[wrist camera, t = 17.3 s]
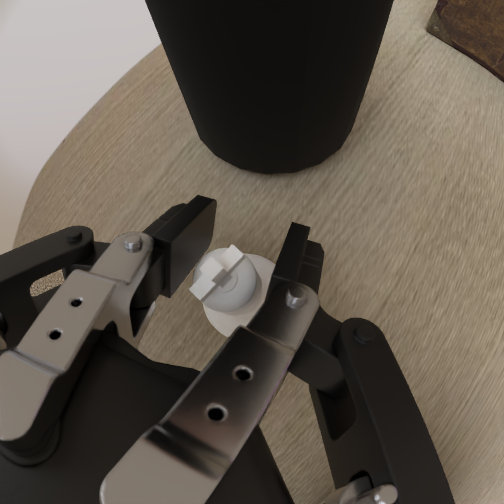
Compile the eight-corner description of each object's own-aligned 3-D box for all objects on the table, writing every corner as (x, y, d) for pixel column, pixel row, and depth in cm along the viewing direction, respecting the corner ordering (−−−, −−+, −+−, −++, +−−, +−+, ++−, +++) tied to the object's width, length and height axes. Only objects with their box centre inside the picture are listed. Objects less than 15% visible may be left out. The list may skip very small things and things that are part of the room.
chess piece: (309, 295, 17) (353, 263, 7) (248, 359, 17) (214, 408, 7) (245, 237, 18) (213, 145, 8) (186, 298, 18) (91, 271, 8)
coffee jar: (321, 58, 21) (339, -142, 3) (372, 167, 19) (493, -95, 1) (190, 80, 21) (120, -123, 4) (208, 199, 19) (55, -105, 1)
